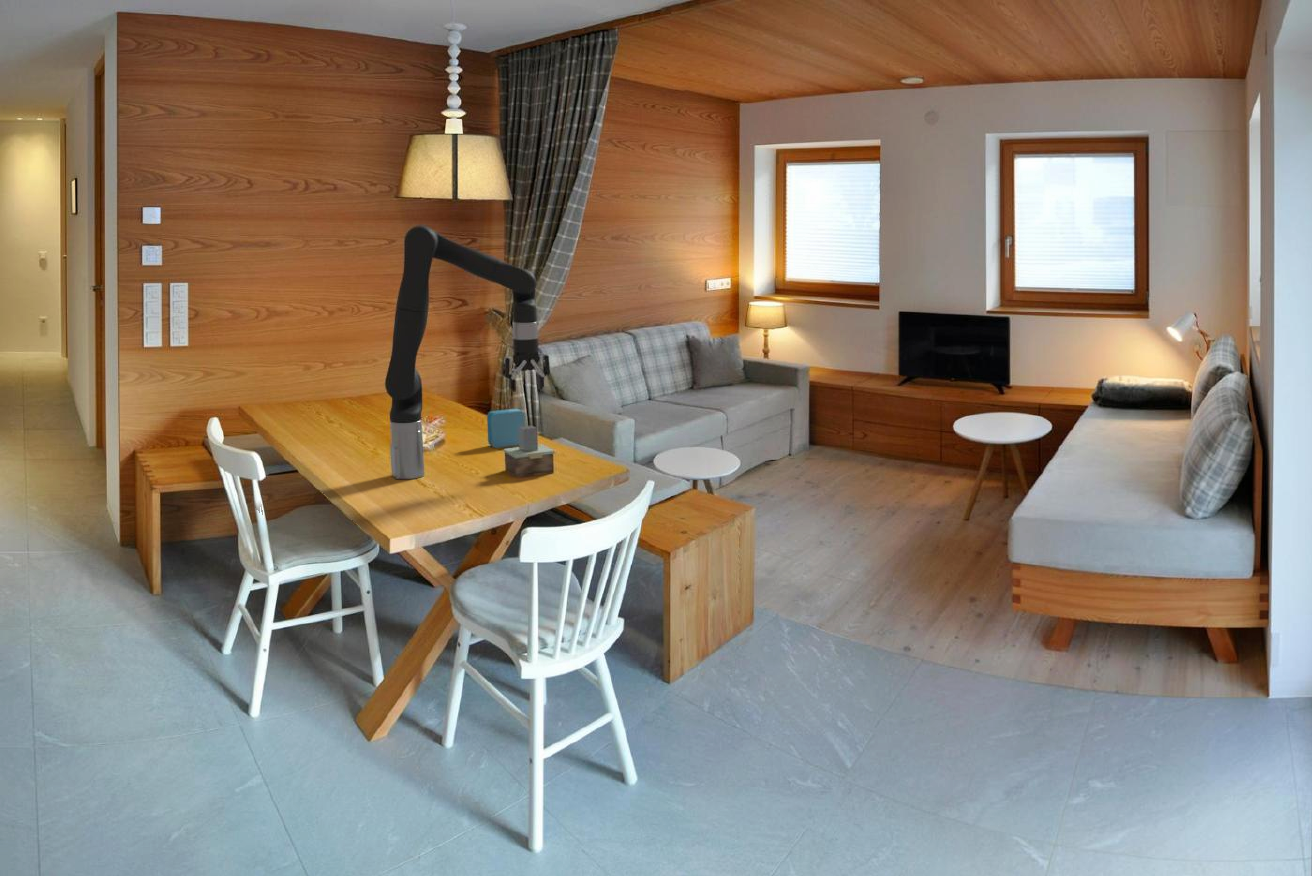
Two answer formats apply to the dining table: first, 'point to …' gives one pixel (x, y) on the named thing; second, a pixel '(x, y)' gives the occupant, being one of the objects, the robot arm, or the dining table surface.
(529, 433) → the block
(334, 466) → the dining table surface
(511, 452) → the box lid
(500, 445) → the data package
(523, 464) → the walnut box
